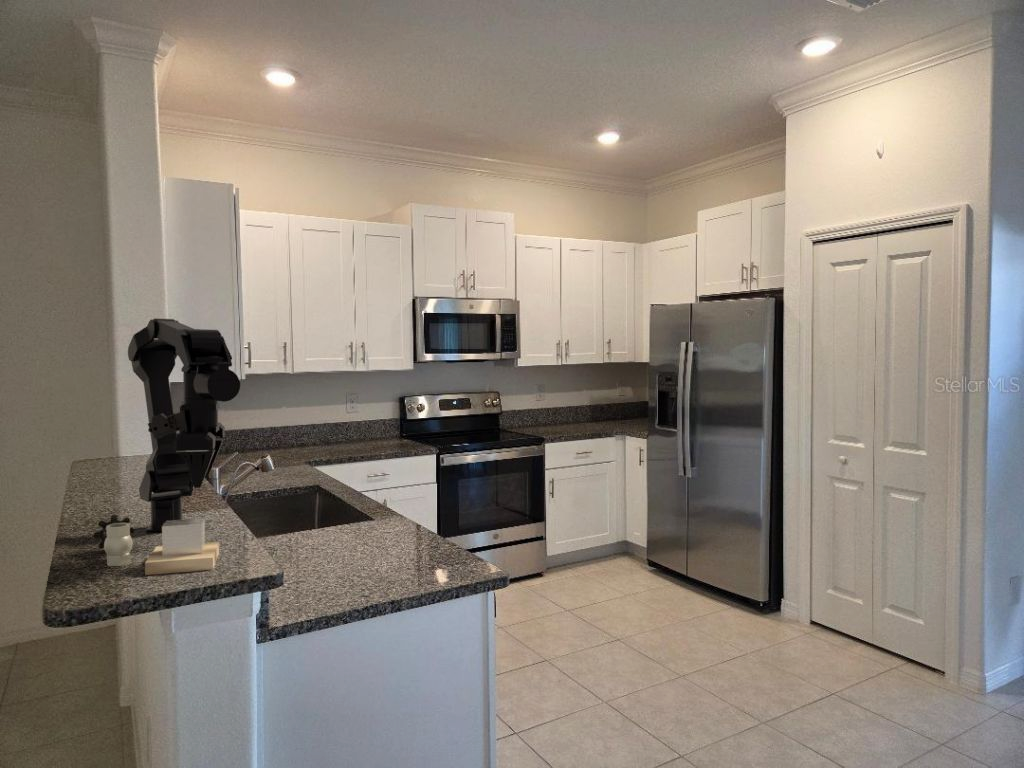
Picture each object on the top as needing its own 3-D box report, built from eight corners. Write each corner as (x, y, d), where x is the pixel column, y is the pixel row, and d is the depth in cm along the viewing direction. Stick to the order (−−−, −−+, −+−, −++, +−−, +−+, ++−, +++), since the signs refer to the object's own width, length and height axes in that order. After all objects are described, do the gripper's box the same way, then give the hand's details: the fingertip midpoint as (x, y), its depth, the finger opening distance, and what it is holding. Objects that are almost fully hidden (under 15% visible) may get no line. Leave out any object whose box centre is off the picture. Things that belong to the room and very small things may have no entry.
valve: (142, 563, 117) (135, 547, 127) (141, 525, 117) (134, 511, 127) (96, 570, 113) (93, 552, 123) (95, 530, 113) (92, 516, 123)
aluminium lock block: (166, 549, 118) (166, 520, 118) (205, 547, 120) (204, 518, 119) (162, 556, 114) (162, 526, 114) (202, 553, 116) (201, 523, 116)
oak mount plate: (157, 557, 120) (156, 546, 120) (219, 552, 123) (219, 541, 123) (145, 575, 111) (144, 562, 110) (212, 569, 114) (212, 557, 113)
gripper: (162, 394, 133) (163, 474, 134) (139, 402, 115) (140, 495, 116) (224, 394, 136) (225, 472, 137) (212, 402, 118) (212, 492, 119)
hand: (201, 482), depth 127 cm, fingers open, 9 cm apart
